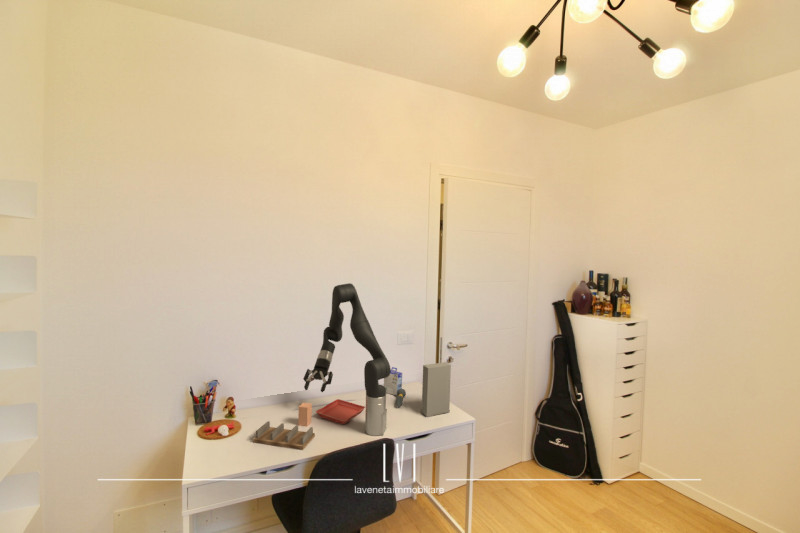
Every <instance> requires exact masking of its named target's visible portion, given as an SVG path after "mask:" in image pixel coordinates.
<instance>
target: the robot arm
mask: <svg viewBox="0 0 800 533" xmlns="http://www.w3.org/2000/svg"><path fill="white" fill-rule="evenodd" d="M331 296H332V297H331V313H330V318H329V322H328V323H329V324H328V326H327V327H325V328H324V330H323V333H322V334H323V336H322V338H323V340H322V344H321V347H320V351H319V353H318V355H317V358H316V361H315V363H314V367H313V370H312V369H311V370H310V369H309V368H307V369H306V372H305V374H304V376H303V381H304V382H305V384H304V387H303V388H304V390H305V391H308V390H309V387H310V383H311V382H313V381H314V380H318V381H322V385H321V387H320V392H321V393H324V392H325V390H326V388H327V385H331V384H332V380H333V376H334V373H333V371H329V370H330V365H331V363H332V359H333V356H334V353H335V349H336V344H334V343H333V342H335V343H338V342H341V340H342V339H343V323H344V318H345V316H344V312H343V310H342V309H341V308H340V306H341V304H342V303H349V302H350V305H351V310H352V314H351V316H350V320H349V321H350V323H349V326H350V328H349V329H350V330H351V332H352V335H353V337H354V339H355V341H356V342H357V343H358V344H360V346H362V347H363V348H364V349H366V350H367V352H368V353H369V355H370V356H371V357H372V359H371V360H368V361H366V363H365V365H364V370H363V371H364V372H363V373H364V375H363V376H364V388H365V415H364V417H365V421H364V422H365V425H364V429H365V430H364V431H365V433H366V435H369V436H375V437H376V436H383V435H384V434H385V433H386V430H387V413H388V411H387V410H388V409H387V403H386V402H387V393H386V388H385V387H384V385H382V384H380V383H379V381H380V380H382V379H383V380H384V378H386V377H388V376H389V375H390V372H391V369H392V368H391V365H390V363H389V361H388V358H387V357H386V354H385V353H384V351H383V350H382V348H381V346H380V344H379V342H378V340H377V337H376V335H375V334H374V331H373V329H372V327H371V324H370V322H369V320H368V318H367V316H366V313H365V312H364V309H363V306H362V303H361V301H360V297H359V294H358V292H357V289H356V287H355V285H353V283H349V282H348V283H344V284H338V285H335V286H334V287H333V289H332V294H331ZM331 341H332V342H331ZM326 377H327V379H326Z"/></svg>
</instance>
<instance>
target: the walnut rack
mask: <svg viewBox="0 0 800 533" xmlns="http://www.w3.org/2000/svg"><path fill="white" fill-rule="evenodd" d="M270 422H271V421H266V422H265V423H264V424H262V425H261V426H260V427H259V428H258V429H256V430H255V437H254V438H253V439H252V441H253V443H254V444H261V445H267V446H274V447H278V448H279V447H280V448H287V449H291V450H292V449H294V450H300V451H301V450H302V451H304V449H306V447H307V446H308V445H309V444H310V443H311V442H312V441H313V439H314V438H315V436H316V434H315V432H314V428H313V427H312V426H311V427H309V428H308V430H307V431H304V430H303V431H302V430H299V425H298V424H296V425H294V426H293V427H292V428H291V429H289V428H285V423H283V422H282V423H280V424H279V425H278V426H277V427H273V426H271V424H270Z"/></svg>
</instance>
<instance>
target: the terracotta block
mask: <svg viewBox="0 0 800 533" xmlns="http://www.w3.org/2000/svg"><path fill="white" fill-rule="evenodd" d="M312 408H313V404H312V403H309V402H302V403H301V404H300V405H299V406H298V413H297V414H298V420H297V421H298V424H297V425H298V427H299V426H301V427H309V426H310V425H311V423H312V413H313V412H312V411H313V409H312Z"/></svg>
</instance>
